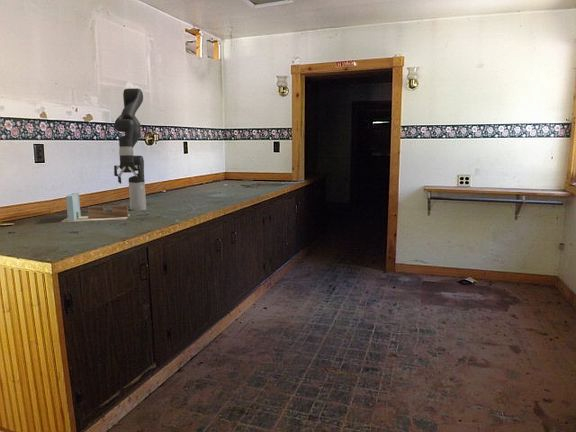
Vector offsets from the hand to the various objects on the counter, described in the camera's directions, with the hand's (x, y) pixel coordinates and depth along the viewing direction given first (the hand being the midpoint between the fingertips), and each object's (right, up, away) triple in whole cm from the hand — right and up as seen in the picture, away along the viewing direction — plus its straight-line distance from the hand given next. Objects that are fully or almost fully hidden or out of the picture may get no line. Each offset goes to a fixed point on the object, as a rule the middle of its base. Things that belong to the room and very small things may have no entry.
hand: (128, 183), depth 247 cm
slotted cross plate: (-22, -20, -18) cm, 35 cm away
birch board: (-11, -21, -15) cm, 28 cm away
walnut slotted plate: (-5, -20, -14) cm, 25 cm away
